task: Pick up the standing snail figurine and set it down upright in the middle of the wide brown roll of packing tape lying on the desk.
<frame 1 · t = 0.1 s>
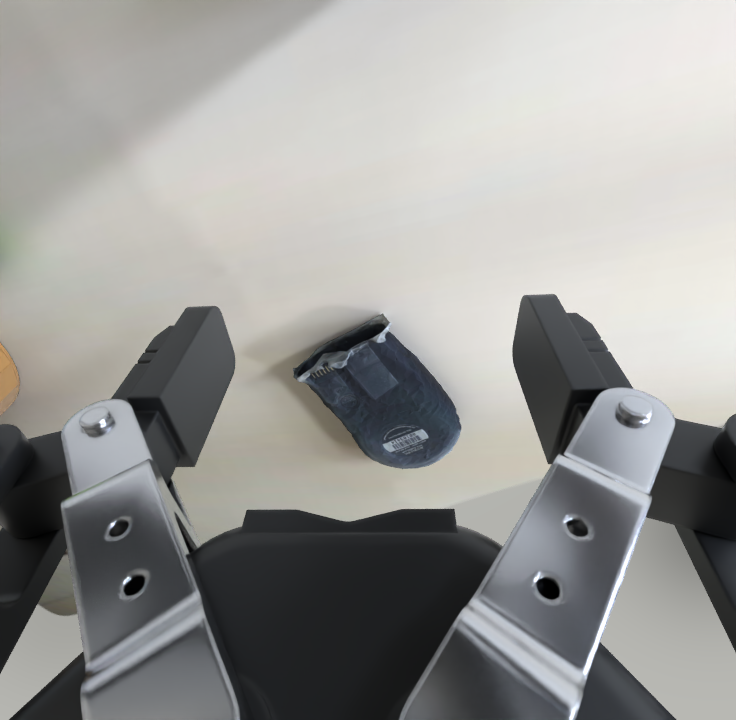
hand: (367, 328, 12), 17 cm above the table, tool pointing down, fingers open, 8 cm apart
dark blue pouch: (388, 393, 37), on the table
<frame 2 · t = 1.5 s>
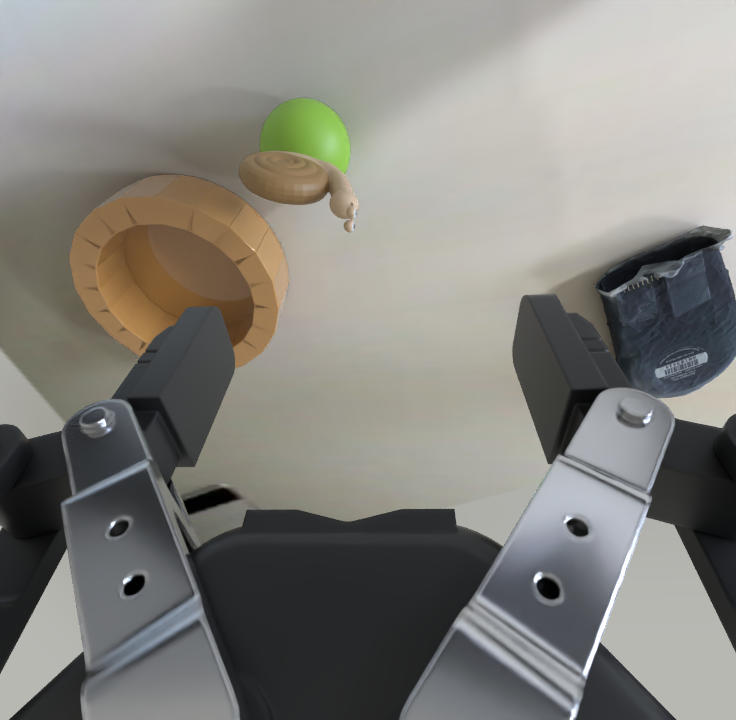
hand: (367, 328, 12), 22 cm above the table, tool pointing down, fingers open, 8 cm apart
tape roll: (198, 268, 35), on the table
dark blue pouch: (660, 318, 37), on the table
snail figurine: (319, 139, 29), on the table
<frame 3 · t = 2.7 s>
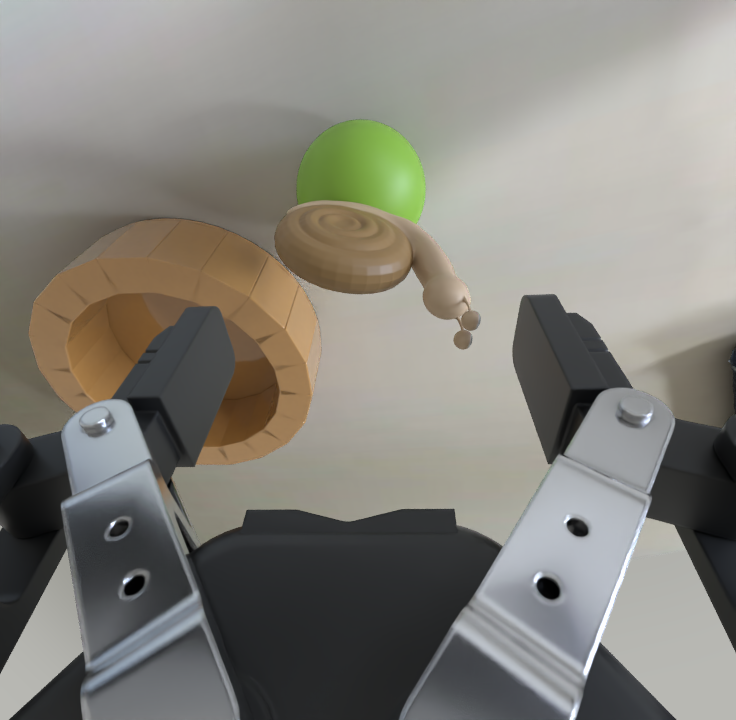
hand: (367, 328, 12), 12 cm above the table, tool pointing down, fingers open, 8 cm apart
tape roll: (203, 332, 27), on the table
snail figurine: (374, 173, 21), on the table
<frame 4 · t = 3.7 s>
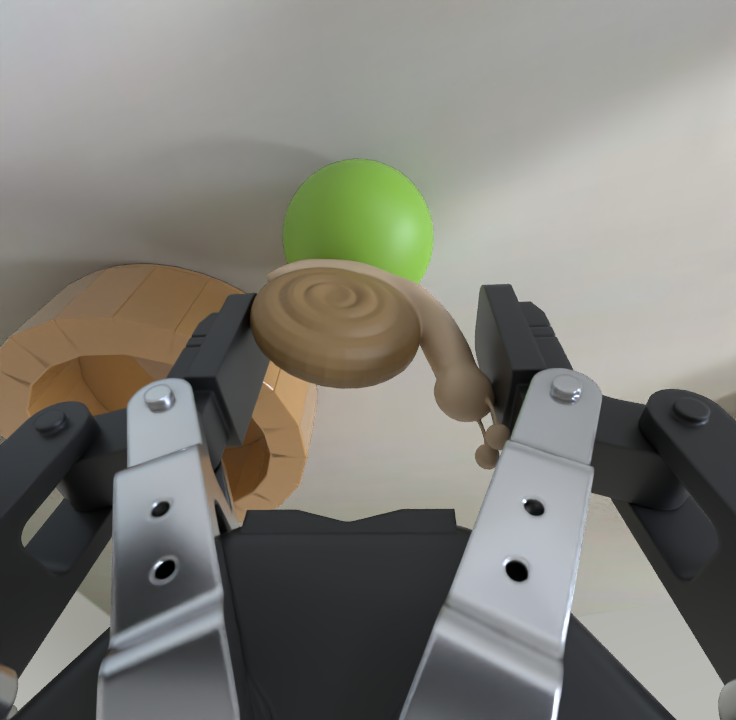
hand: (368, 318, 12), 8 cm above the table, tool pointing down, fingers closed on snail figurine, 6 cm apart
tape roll: (187, 382, 25), on the table
snail figurine: (374, 213, 18), on the table, touching gripper
when the fingers open (8 cm above the table, at t = 11.1 s): snail figurine stays where it is, resting on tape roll.
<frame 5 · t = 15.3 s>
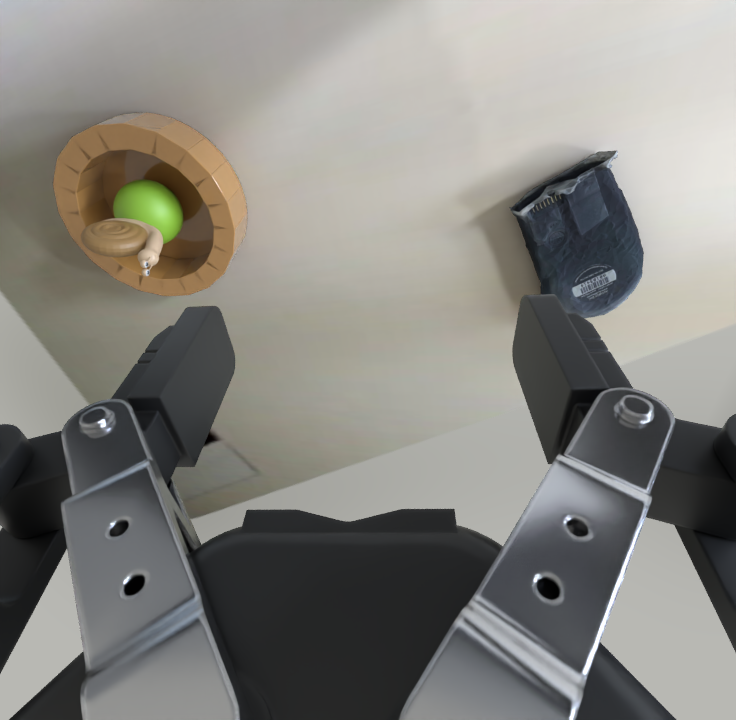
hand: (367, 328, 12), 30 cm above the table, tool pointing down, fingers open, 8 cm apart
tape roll: (167, 202, 40), on the table
dark blue pouch: (575, 243, 42), on the table
snail figurine: (168, 202, 40), resting on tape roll
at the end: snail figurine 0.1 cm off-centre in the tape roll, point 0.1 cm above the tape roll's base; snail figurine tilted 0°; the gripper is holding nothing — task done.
